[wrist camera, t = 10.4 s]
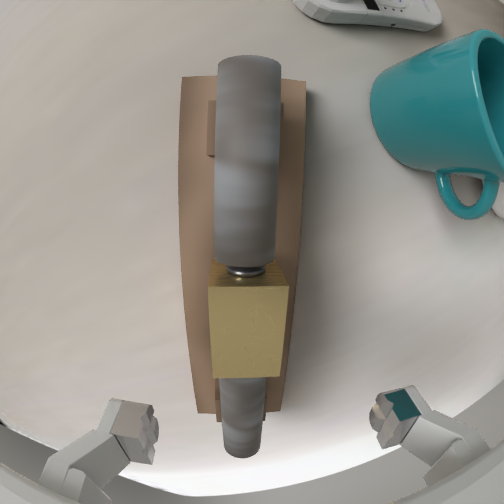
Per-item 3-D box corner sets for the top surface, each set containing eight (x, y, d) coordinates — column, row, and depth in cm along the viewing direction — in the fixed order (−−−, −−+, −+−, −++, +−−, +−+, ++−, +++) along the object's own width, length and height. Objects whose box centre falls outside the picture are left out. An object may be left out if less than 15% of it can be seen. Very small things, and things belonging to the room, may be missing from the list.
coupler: (274, 252, 16) (289, 279, 12) (269, 339, 18) (279, 380, 14) (212, 252, 16) (207, 280, 12) (215, 340, 18) (213, 382, 14)
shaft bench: (300, 87, 17) (339, 49, 10) (277, 400, 25) (290, 459, 18) (185, 83, 16) (162, 39, 9) (198, 402, 24) (194, 462, 17)
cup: (374, 208, 20) (481, 251, 9) (357, 60, 16) (449, 4, 6) (450, 201, 20) (545, 232, 10) (438, 76, 17) (530, 57, 6)
